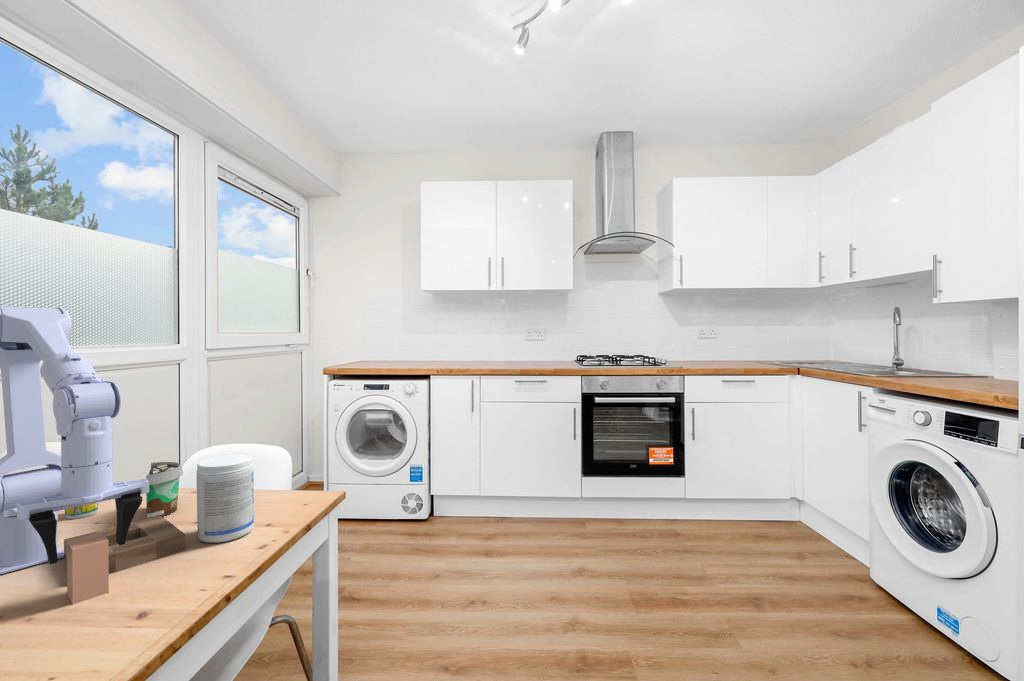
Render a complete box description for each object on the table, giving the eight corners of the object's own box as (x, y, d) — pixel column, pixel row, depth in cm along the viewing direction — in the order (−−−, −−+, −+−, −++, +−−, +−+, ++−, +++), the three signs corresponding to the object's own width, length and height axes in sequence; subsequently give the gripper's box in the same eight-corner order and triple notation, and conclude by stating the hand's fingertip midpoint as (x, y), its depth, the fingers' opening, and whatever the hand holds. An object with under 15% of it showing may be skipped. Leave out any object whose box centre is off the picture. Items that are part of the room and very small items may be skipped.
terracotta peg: (67, 595, 69) (67, 542, 69) (102, 583, 72) (102, 533, 72) (72, 604, 67) (72, 549, 67) (108, 592, 70) (108, 540, 70)
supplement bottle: (104, 510, 102) (104, 468, 102) (78, 520, 97) (78, 475, 97) (84, 509, 103) (84, 466, 103) (57, 518, 98) (57, 473, 98)
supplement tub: (264, 528, 93) (264, 456, 93) (219, 548, 84) (219, 469, 84) (231, 521, 97) (231, 451, 97) (185, 539, 88) (185, 463, 88)
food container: (182, 517, 99) (182, 471, 99) (146, 523, 95) (145, 475, 95) (184, 500, 109) (183, 458, 109) (151, 505, 106) (151, 462, 105)
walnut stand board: (63, 556, 81) (63, 539, 81) (160, 530, 92) (160, 515, 92) (80, 582, 73) (80, 563, 73) (184, 550, 84) (184, 533, 84)
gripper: (21, 479, 61) (22, 580, 61) (154, 456, 73) (155, 542, 73) (14, 469, 66) (15, 564, 66) (141, 450, 77) (142, 530, 77)
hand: (88, 552), depth 69 cm, fingers open, 7 cm apart
